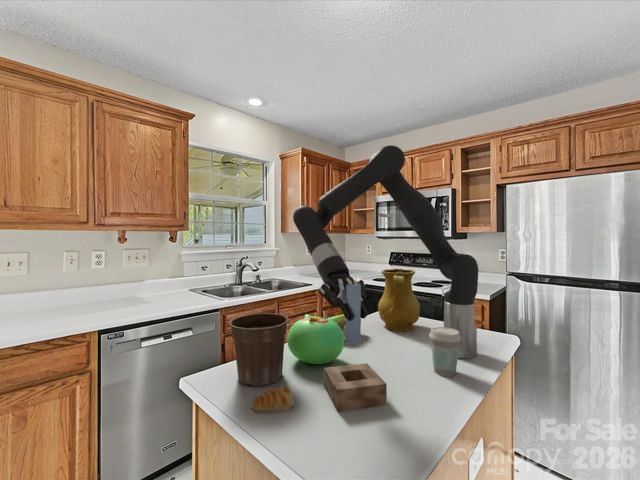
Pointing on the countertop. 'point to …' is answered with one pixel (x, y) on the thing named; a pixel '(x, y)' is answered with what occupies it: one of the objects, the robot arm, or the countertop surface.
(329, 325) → the green round piece
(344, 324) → the tin
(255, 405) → the pastry
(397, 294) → the pitcher
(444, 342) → the coffee cup
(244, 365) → the plant pot
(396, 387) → the countertop surface
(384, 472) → the countertop surface
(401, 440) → the countertop surface
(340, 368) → the socket block
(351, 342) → the dowel
